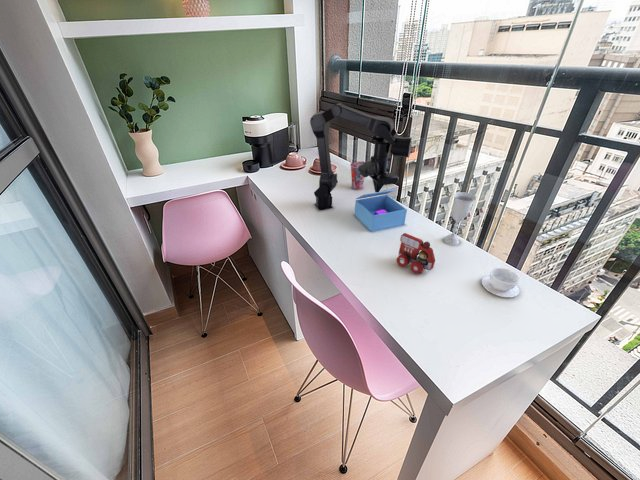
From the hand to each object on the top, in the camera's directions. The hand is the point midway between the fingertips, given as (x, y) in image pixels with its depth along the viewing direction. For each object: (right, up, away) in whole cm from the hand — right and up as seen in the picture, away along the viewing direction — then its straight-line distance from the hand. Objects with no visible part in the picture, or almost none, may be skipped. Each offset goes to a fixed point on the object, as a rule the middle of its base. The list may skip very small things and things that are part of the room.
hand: (376, 192), depth 125 cm
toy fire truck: (+7, -29, -23) cm, 38 cm away
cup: (-3, +9, +31) cm, 33 cm away
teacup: (+30, -36, -32) cm, 57 cm away
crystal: (+2, -11, +2) cm, 11 cm away
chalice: (+25, -21, -11) cm, 34 cm away
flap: (0, -1, +1) cm, 1 cm away
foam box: (+1, -11, +3) cm, 11 cm away
